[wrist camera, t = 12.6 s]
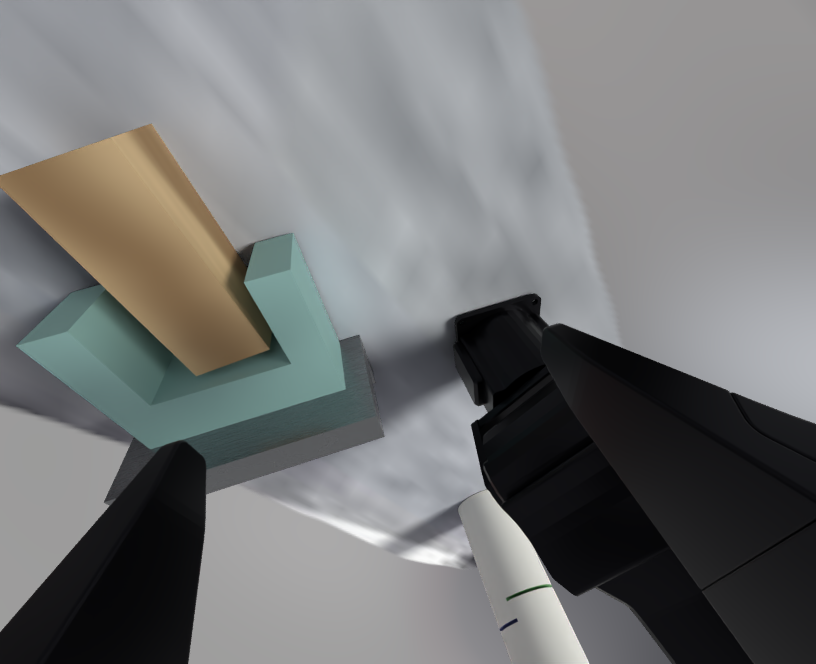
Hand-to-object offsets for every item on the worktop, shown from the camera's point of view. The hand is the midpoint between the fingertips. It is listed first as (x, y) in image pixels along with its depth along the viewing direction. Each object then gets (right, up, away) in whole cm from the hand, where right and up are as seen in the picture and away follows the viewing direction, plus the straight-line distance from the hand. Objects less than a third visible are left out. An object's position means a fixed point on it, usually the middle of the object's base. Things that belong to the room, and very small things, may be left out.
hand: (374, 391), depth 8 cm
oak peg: (-10, +6, +9) cm, 15 cm away
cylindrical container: (+11, -22, +37) cm, 44 cm away
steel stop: (-9, -2, +15) cm, 17 cm away
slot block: (-10, +2, +11) cm, 15 cm away
